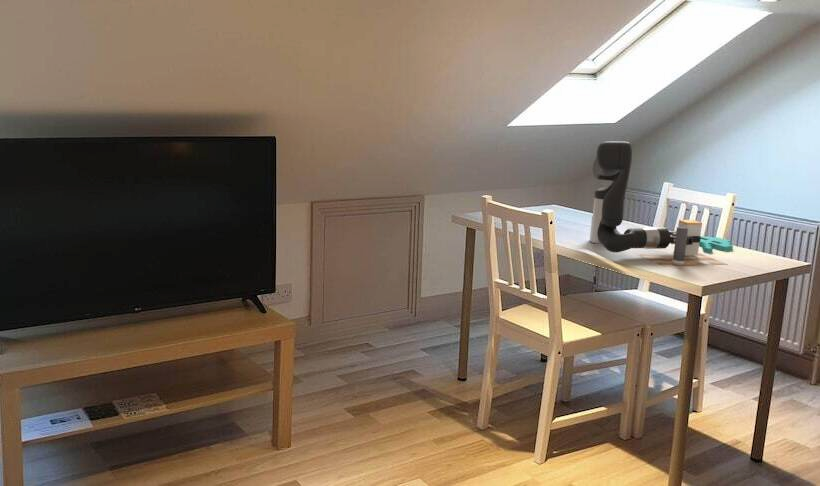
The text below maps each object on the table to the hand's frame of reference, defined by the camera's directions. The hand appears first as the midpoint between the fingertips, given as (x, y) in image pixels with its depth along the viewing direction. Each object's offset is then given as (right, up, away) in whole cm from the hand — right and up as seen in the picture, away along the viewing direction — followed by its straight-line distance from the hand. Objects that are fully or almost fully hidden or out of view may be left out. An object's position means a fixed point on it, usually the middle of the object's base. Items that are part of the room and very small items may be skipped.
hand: (694, 237), depth 290 cm
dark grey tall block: (-10, -9, -13) cm, 19 cm away
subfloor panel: (-7, -9, -6) cm, 13 cm away
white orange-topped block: (-3, -6, 0) cm, 6 cm away
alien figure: (+13, -3, +26) cm, 29 cm away
